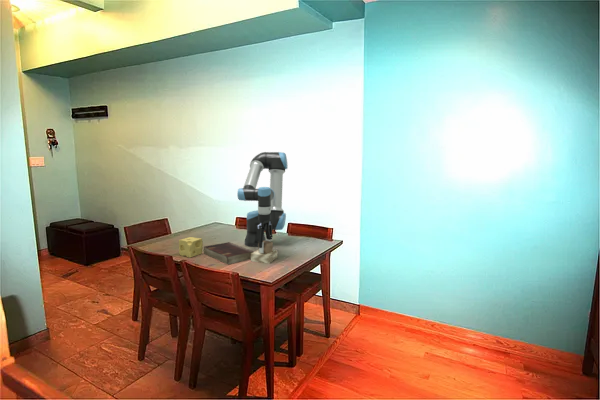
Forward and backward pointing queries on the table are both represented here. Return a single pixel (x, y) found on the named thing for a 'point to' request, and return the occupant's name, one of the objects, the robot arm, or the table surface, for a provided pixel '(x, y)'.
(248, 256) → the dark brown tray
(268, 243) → the walnut cube
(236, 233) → the table surface
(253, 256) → the birch block
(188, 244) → the cheese
